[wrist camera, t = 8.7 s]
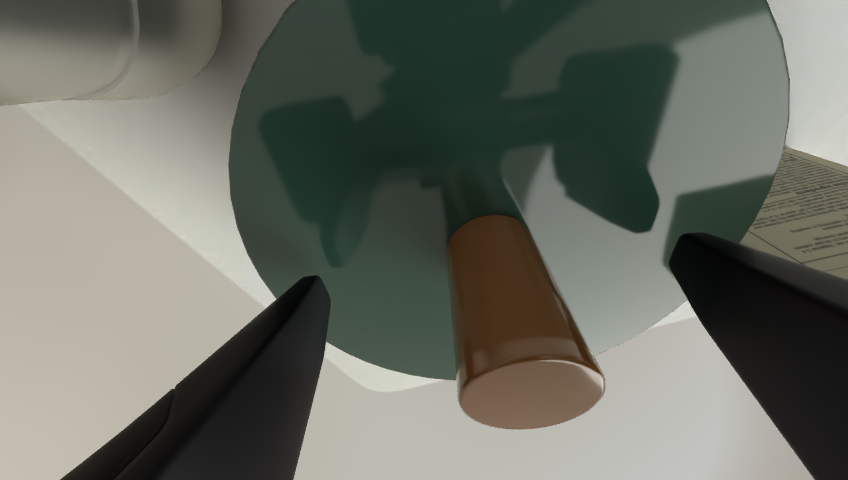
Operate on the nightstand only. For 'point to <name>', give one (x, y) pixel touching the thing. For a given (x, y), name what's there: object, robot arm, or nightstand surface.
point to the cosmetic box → (805, 214)
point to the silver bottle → (103, 47)
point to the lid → (503, 177)
